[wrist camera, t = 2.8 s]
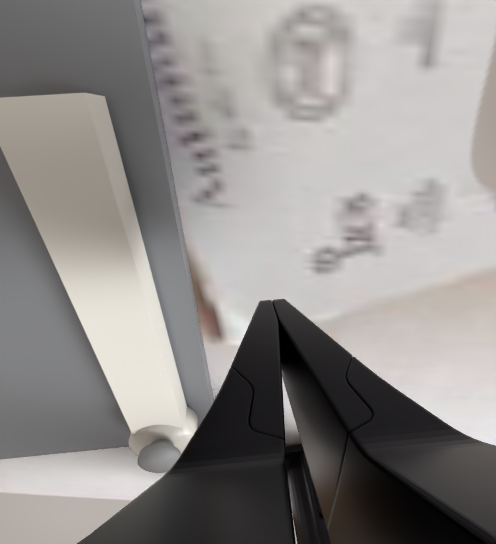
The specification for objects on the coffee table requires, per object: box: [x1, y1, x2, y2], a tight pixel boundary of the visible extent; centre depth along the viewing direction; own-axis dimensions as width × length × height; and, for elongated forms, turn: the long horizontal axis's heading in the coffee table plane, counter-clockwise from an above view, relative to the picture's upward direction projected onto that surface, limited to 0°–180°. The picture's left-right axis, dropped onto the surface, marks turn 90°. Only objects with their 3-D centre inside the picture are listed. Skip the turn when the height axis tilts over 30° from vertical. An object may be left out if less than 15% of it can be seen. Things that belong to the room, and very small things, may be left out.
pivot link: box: [0, 93, 198, 456], centre depth 13 cm, size 20×4×2 cm, turn 3°
